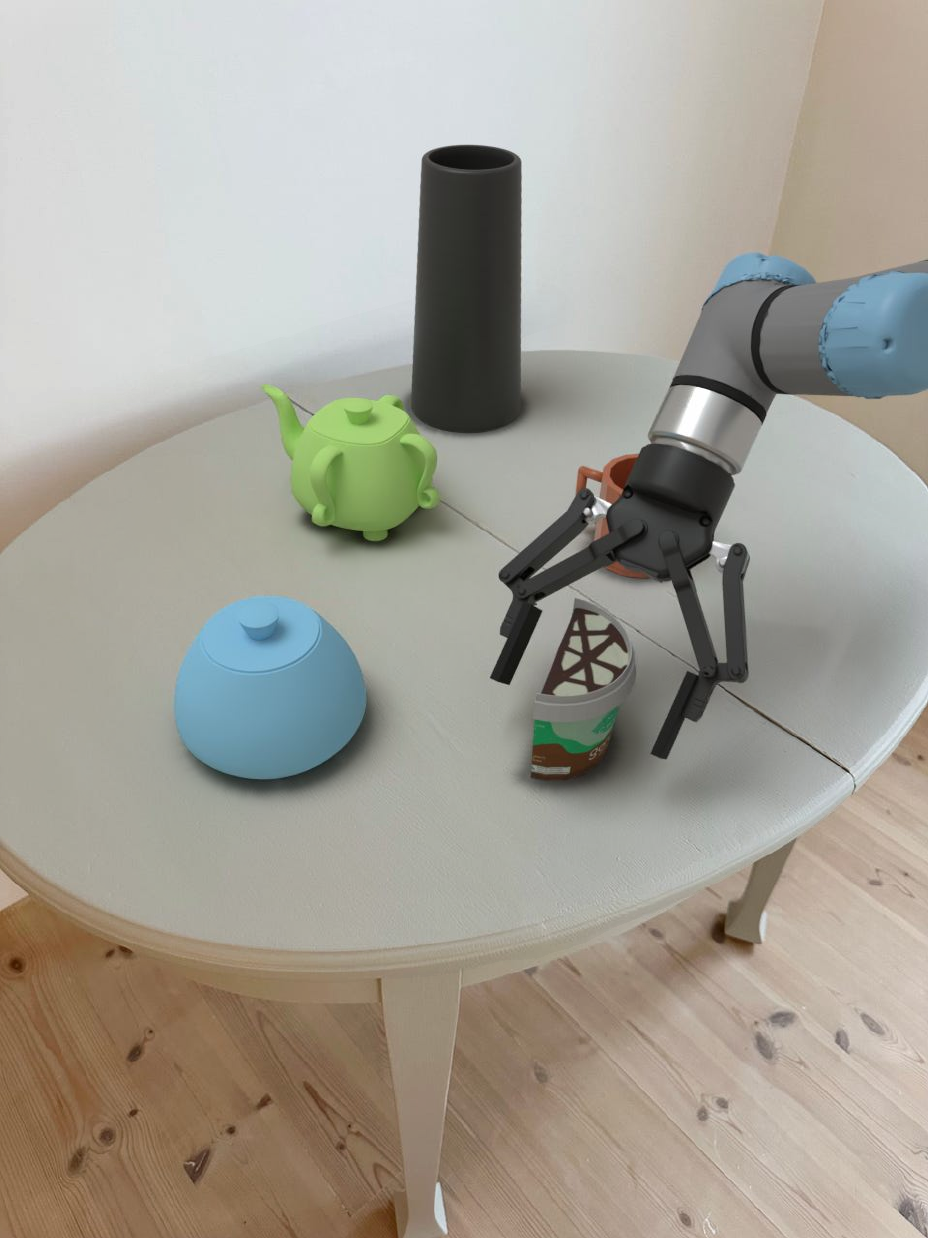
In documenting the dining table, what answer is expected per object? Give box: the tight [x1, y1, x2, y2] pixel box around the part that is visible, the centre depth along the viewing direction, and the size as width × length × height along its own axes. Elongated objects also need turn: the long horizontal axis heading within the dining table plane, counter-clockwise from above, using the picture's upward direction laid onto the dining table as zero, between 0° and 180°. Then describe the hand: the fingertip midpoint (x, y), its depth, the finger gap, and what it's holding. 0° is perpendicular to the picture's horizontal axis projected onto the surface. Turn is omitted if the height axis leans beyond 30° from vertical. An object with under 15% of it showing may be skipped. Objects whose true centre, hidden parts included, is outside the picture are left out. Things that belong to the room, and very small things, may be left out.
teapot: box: [260, 384, 441, 542], centre depth 97 cm, size 16×14×13 cm
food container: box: [530, 598, 637, 781], centre depth 73 cm, size 12×6×10 cm, turn 161°
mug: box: [574, 453, 650, 579], centre depth 94 cm, size 11×8×9 cm
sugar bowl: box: [173, 595, 367, 780], centre depth 74 cm, size 15×15×12 cm
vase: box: [410, 144, 523, 433], centre depth 110 cm, size 14×14×29 cm
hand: (575, 718), depth 72 cm, fingers open, 13 cm apart
